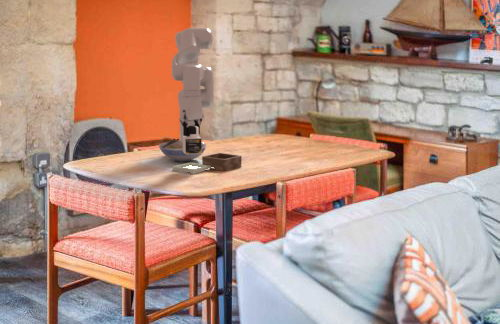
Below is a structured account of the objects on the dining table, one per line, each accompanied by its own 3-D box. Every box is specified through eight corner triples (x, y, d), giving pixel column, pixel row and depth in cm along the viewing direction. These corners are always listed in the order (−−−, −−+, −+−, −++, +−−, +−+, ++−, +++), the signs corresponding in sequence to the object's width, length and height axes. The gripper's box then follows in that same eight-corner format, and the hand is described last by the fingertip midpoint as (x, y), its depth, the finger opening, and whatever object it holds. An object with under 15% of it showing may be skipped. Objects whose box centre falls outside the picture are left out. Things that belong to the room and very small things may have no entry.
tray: (190, 166, 344) (190, 162, 344) (210, 169, 337) (210, 165, 337) (172, 170, 335) (172, 166, 334) (193, 174, 328) (193, 169, 328)
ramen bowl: (199, 166, 344) (199, 148, 343) (151, 164, 349) (150, 146, 347) (213, 157, 368) (213, 140, 367) (167, 154, 373) (167, 138, 371)
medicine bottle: (185, 154, 330) (185, 127, 328) (182, 152, 337) (182, 125, 335) (201, 154, 332) (201, 126, 330) (198, 151, 339) (198, 124, 337)
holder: (219, 163, 352) (219, 152, 352) (241, 166, 345) (241, 155, 344) (202, 167, 342) (202, 156, 341) (224, 170, 335) (224, 159, 334)
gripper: (197, 92, 339) (197, 132, 342) (171, 94, 325) (172, 136, 328) (210, 93, 335) (210, 133, 338) (185, 96, 321) (185, 138, 324)
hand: (191, 134), depth 333 cm, fingers closed on medicine bottle, 6 cm apart
